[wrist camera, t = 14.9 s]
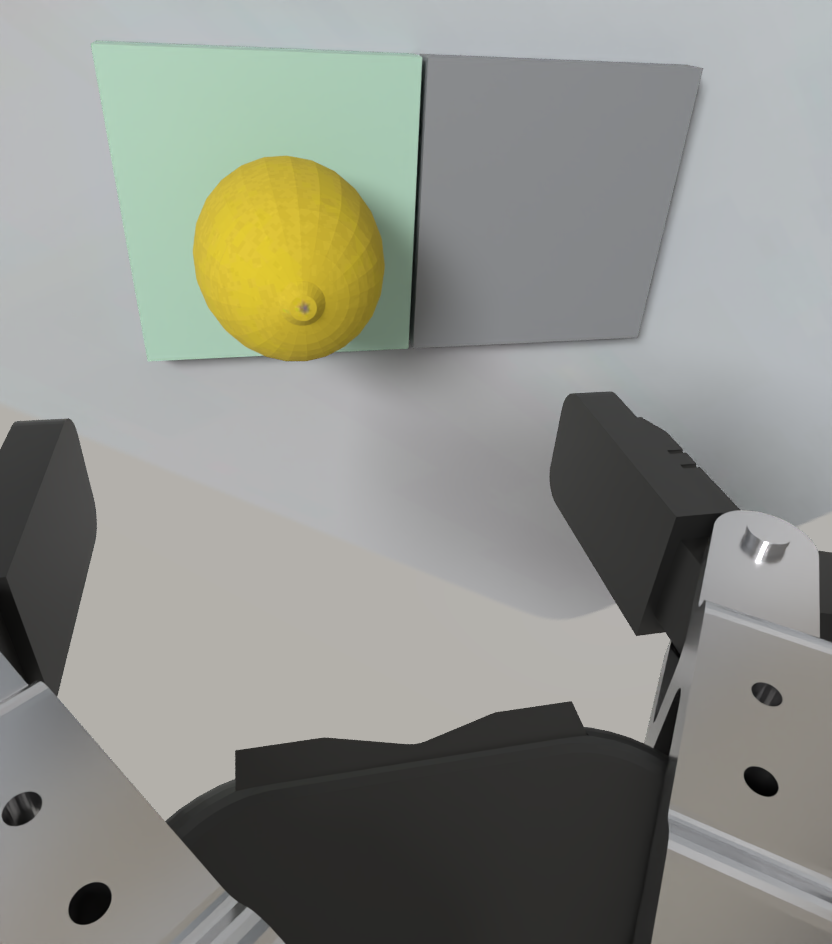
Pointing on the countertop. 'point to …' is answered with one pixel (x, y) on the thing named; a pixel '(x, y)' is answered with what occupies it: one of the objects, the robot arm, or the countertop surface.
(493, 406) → the countertop surface
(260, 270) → the lemon
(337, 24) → the countertop surface
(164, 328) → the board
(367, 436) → the countertop surface
